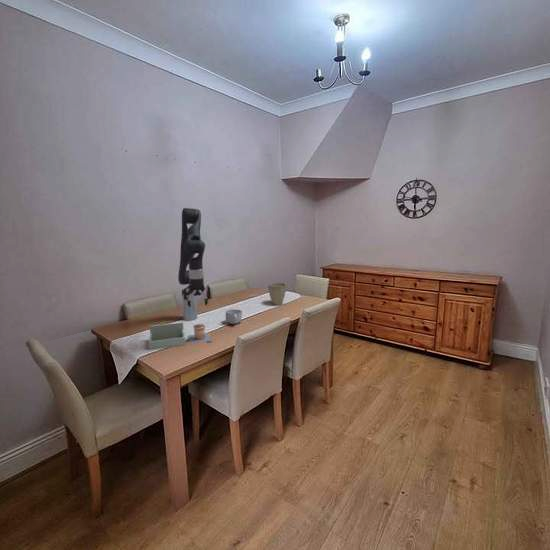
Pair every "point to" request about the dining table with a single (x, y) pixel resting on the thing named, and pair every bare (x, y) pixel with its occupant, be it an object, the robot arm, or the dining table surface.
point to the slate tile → (193, 340)
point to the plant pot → (277, 292)
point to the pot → (199, 331)
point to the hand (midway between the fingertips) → (197, 305)
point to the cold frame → (166, 335)
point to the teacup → (233, 316)
